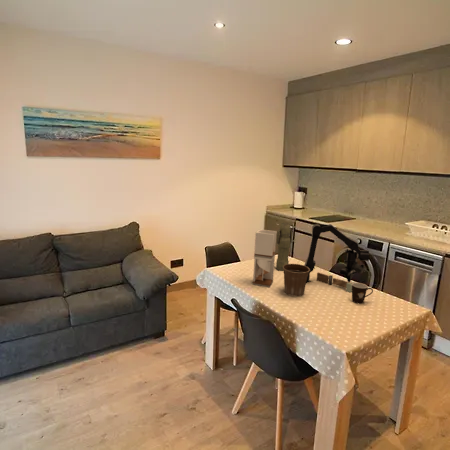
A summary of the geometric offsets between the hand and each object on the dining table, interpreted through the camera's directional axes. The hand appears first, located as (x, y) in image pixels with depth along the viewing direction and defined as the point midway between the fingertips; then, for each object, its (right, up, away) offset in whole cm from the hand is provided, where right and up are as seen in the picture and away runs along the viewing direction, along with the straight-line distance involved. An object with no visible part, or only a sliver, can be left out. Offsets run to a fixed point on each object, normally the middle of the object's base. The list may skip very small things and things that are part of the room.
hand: (349, 282), depth 220 cm
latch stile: (-4, -5, -9) cm, 11 cm away
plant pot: (-39, -4, -14) cm, 42 cm away
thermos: (-39, +4, +29) cm, 49 cm away
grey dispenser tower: (-57, -1, -1) cm, 57 cm away
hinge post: (-15, -1, +5) cm, 16 cm away
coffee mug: (-2, -8, -24) cm, 25 cm away
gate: (-5, -2, -4) cm, 7 cm away
